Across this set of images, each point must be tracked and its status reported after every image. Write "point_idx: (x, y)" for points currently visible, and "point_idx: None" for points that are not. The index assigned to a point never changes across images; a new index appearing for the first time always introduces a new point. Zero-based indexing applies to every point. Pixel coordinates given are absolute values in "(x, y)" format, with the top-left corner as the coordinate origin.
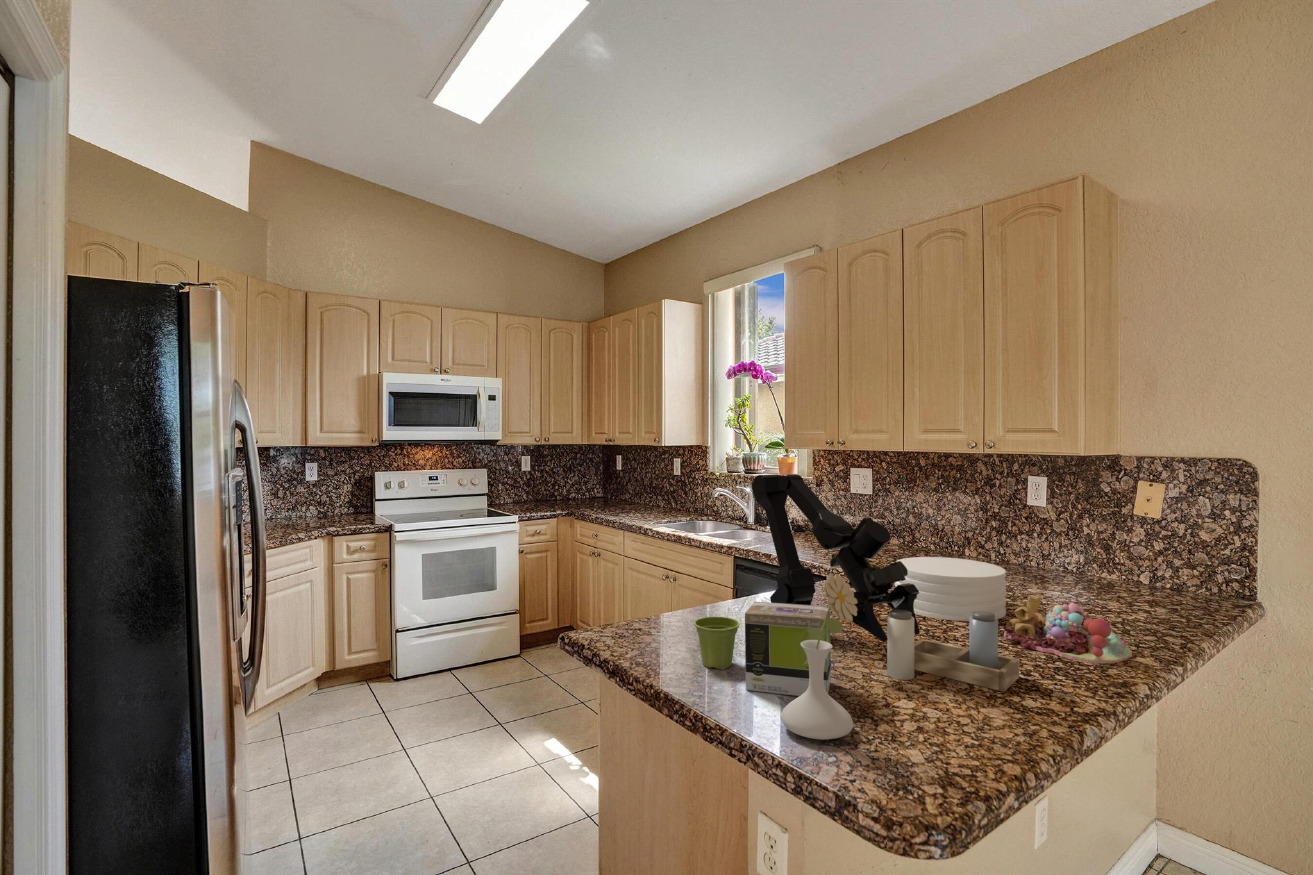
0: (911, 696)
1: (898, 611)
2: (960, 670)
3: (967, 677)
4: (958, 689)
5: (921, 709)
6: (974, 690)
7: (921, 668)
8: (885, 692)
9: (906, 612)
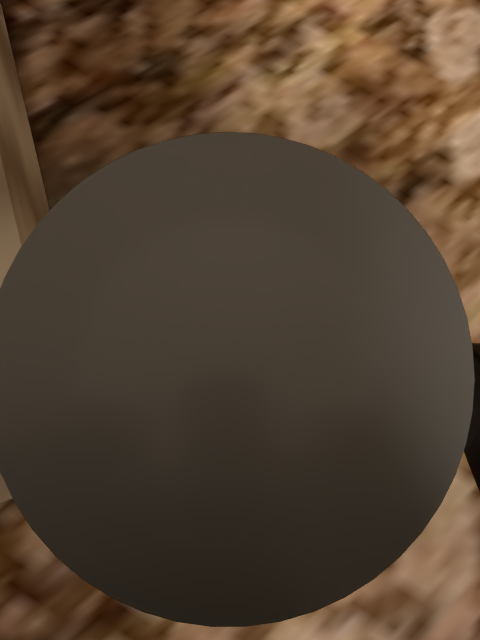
0: (402, 177)
1: (236, 422)
2: (14, 142)
3: (21, 126)
4: (147, 118)
5: (473, 76)
6: (96, 75)
7: None
8: (472, 266)
9: (143, 267)
